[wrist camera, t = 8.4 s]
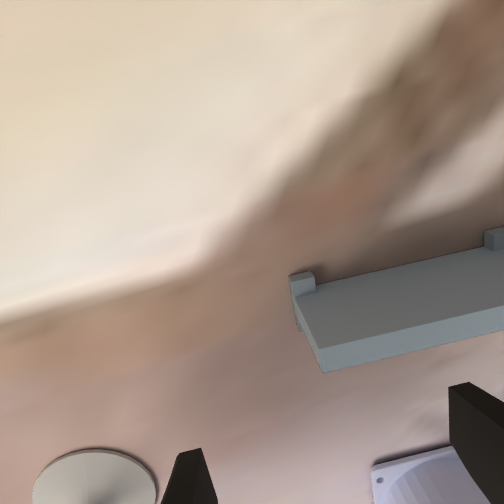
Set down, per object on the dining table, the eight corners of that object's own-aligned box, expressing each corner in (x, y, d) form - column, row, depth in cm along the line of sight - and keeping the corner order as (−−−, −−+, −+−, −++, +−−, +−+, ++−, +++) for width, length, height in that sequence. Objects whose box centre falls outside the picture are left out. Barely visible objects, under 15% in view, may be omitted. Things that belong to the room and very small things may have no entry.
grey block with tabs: (503, 276, 22) (593, 325, 17) (297, 324, 22) (325, 390, 17) (505, 226, 21) (601, 263, 16) (288, 275, 21) (316, 330, 16)
